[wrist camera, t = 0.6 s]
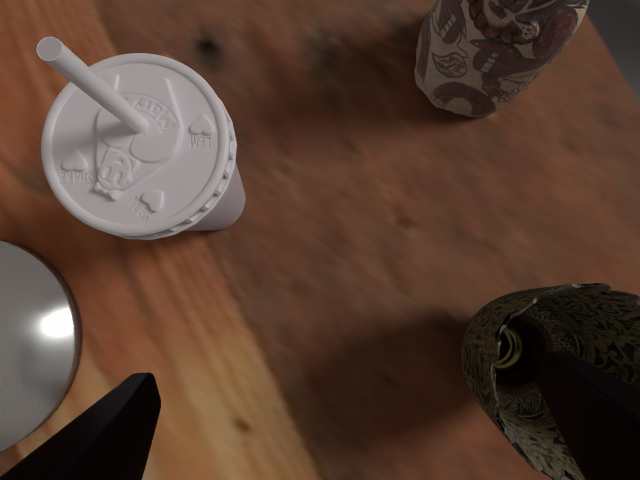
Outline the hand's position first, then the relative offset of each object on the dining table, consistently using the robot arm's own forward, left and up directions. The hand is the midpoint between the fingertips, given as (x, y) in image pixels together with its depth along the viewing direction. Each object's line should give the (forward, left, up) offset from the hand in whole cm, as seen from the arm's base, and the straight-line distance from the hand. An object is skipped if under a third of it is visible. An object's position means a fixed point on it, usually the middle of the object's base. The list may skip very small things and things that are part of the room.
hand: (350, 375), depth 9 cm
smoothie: (+4, +9, -13) cm, 16 cm away
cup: (+1, -9, -13) cm, 16 cm away
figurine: (+17, -3, -13) cm, 22 cm away
